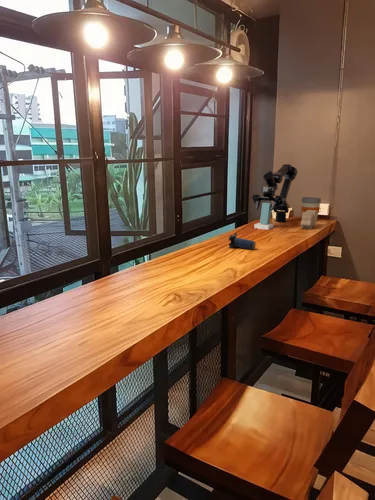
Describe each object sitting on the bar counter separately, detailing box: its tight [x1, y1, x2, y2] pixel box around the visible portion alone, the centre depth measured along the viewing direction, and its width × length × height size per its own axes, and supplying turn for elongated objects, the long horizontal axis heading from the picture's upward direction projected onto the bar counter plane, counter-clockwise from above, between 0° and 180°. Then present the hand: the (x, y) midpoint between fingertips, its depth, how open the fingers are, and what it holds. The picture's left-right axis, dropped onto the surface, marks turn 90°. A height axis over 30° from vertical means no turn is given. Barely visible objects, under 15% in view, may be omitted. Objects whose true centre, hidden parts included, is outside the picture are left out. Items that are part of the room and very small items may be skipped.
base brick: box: [253, 222, 275, 230], centre depth 243 cm, size 9×9×3 cm
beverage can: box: [228, 232, 257, 251], centre depth 190 cm, size 9×8×12 cm
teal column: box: [259, 202, 273, 224], centre depth 241 cm, size 5×5×12 cm
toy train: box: [300, 210, 318, 230], centre depth 243 cm, size 6×17×10 cm, turn 150°
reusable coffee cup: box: [301, 196, 322, 221], centre depth 270 cm, size 13×13×15 cm
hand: (263, 210), depth 239 cm, fingers open, 9 cm apart
